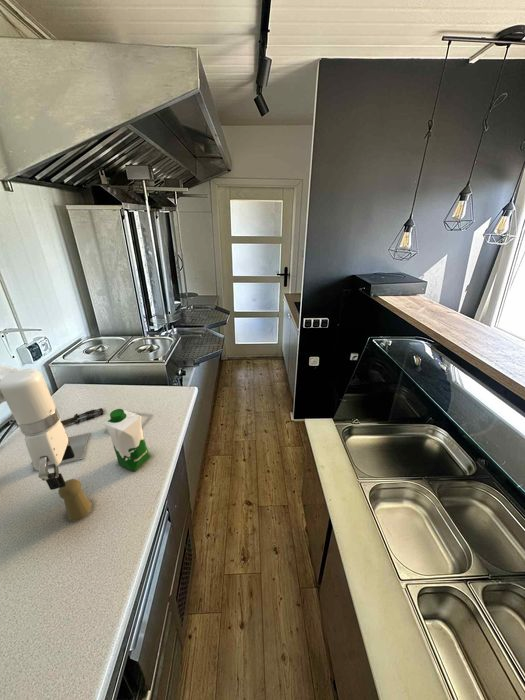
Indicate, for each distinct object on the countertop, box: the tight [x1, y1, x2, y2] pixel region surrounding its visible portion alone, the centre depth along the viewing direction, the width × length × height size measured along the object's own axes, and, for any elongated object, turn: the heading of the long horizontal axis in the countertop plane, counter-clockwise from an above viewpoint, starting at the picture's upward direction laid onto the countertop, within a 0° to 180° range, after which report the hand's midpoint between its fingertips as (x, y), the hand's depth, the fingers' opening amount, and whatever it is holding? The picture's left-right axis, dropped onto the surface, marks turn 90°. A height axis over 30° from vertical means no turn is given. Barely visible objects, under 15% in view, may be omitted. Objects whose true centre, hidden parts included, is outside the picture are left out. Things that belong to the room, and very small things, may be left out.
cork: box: [58, 478, 93, 522], centre depth 79 cm, size 6×6×11 cm
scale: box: [30, 432, 90, 472], centre depth 100 cm, size 15×14×2 cm
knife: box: [60, 407, 105, 427], centre depth 115 cm, size 25×6×1 cm, turn 118°
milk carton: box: [104, 408, 151, 472], centre depth 93 cm, size 9×9×20 cm
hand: (63, 472), depth 74 cm, fingers open, 9 cm apart
